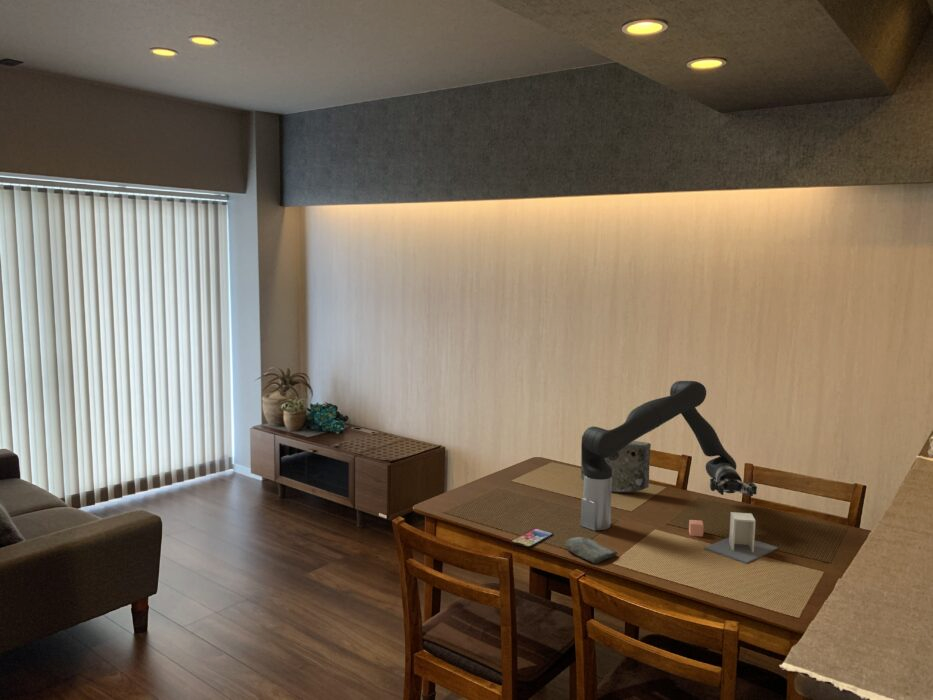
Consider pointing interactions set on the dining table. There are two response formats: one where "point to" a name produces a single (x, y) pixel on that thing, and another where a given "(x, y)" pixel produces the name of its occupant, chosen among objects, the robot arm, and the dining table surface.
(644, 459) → the concrete block
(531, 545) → the smartphone
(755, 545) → the mat
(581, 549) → the stone
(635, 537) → the dining table surface
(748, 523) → the white open box
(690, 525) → the cube
